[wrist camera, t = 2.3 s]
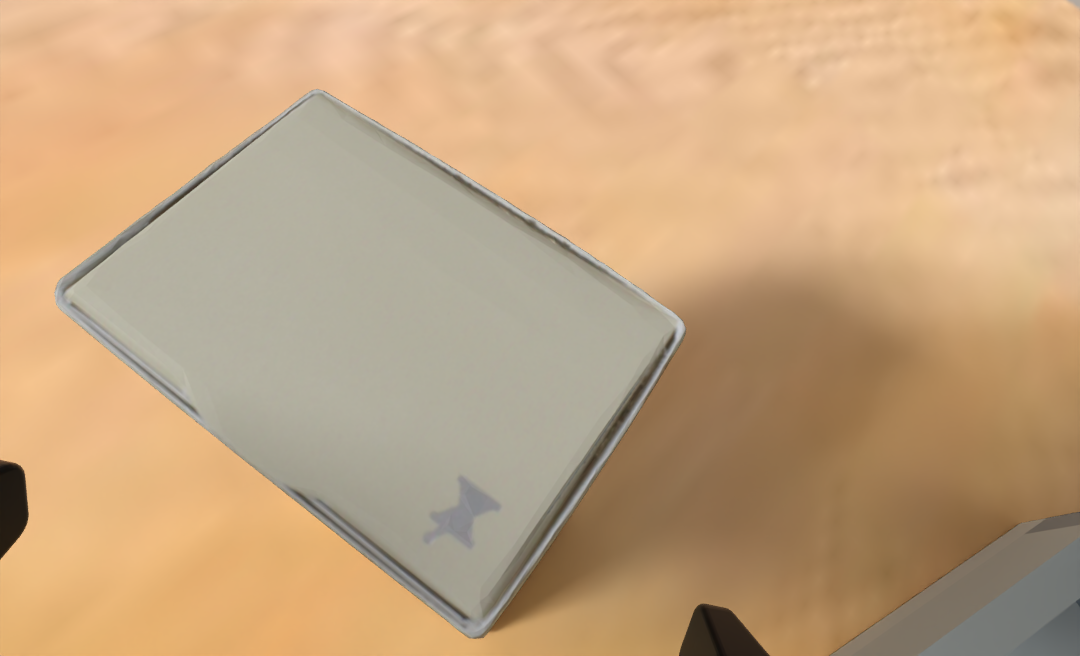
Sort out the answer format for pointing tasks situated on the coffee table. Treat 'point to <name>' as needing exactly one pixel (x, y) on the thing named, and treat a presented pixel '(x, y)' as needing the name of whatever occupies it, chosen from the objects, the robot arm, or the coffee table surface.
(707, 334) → the coffee table surface
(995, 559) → the seat tray
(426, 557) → the skincare box
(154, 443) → the coffee table surface
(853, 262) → the coffee table surface
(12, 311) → the coffee table surface
